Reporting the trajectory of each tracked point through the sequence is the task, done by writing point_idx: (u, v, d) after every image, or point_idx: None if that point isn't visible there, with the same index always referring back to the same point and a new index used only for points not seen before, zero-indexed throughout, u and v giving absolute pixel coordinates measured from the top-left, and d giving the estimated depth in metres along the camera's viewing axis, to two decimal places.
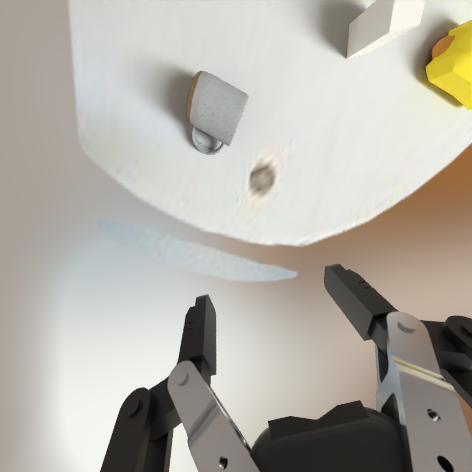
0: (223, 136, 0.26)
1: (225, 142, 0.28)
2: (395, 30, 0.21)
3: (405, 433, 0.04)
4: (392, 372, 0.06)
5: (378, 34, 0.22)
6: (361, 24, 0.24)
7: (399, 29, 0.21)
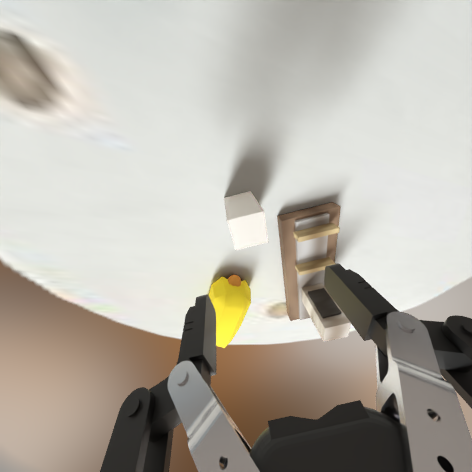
0: None
1: None
2: (229, 227, 0.18)
3: (405, 433, 0.04)
4: (392, 372, 0.06)
5: (230, 212, 0.19)
6: (245, 198, 0.22)
7: (230, 231, 0.18)
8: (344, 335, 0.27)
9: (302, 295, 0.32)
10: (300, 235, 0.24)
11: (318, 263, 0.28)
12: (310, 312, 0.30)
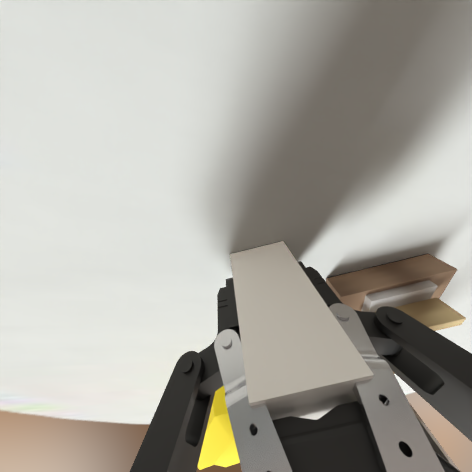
0: None
1: None
2: None
3: (405, 433, 0.04)
4: None
5: (252, 340, 0.07)
6: (280, 270, 0.10)
7: None
8: None
9: None
10: None
11: None
12: None
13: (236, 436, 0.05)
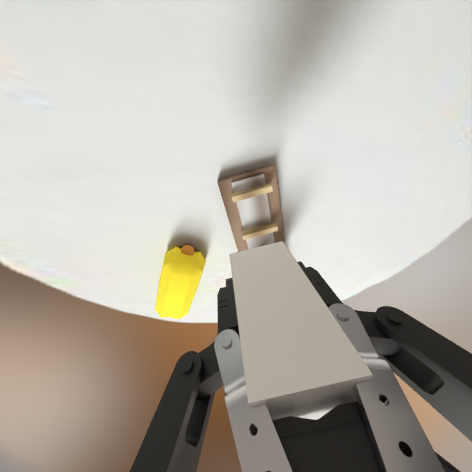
0: None
1: None
2: None
3: (405, 433, 0.04)
4: None
5: (251, 341, 0.07)
6: (280, 270, 0.10)
7: None
8: None
9: None
10: (235, 195, 0.24)
11: (262, 227, 0.28)
12: None
13: (236, 436, 0.05)
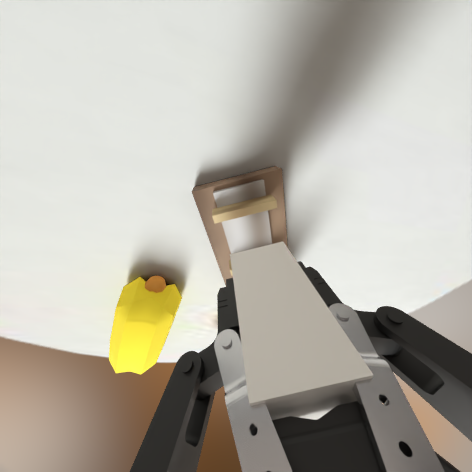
0: None
1: None
2: None
3: (405, 433, 0.04)
4: None
5: (252, 341, 0.07)
6: (280, 271, 0.10)
7: None
8: None
9: None
10: (217, 212, 0.15)
11: None
12: None
13: (236, 436, 0.05)
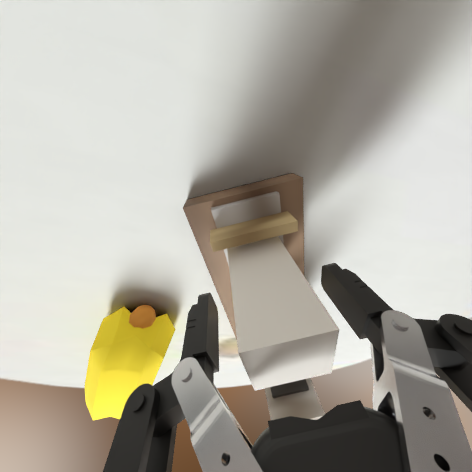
0: None
1: None
2: (242, 360, 0.07)
3: (405, 433, 0.04)
4: (388, 371, 0.06)
5: (243, 309, 0.08)
6: (270, 255, 0.11)
7: None
8: None
9: None
10: (217, 237, 0.11)
11: None
12: None
13: None
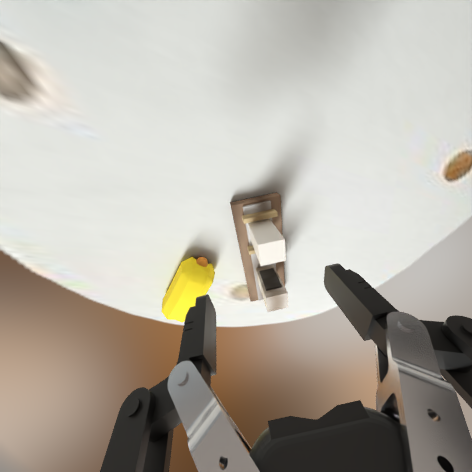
0: None
1: None
2: (258, 249, 0.24)
3: (405, 433, 0.04)
4: (392, 372, 0.06)
5: (258, 238, 0.25)
6: (266, 225, 0.28)
7: (258, 252, 0.25)
8: (285, 306, 0.31)
9: (257, 275, 0.37)
10: (245, 218, 0.29)
11: None
12: (261, 289, 0.35)
13: None
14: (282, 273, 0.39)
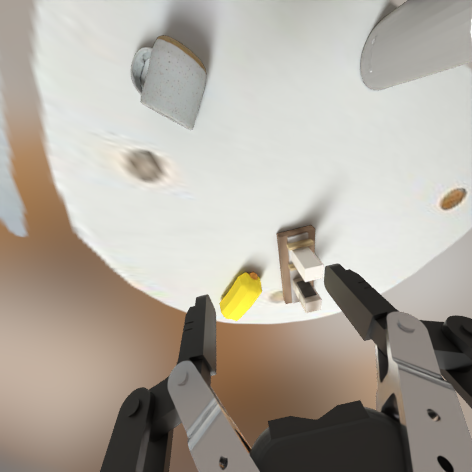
0: (144, 89, 0.22)
1: (141, 95, 0.23)
2: (304, 271, 0.36)
3: (405, 433, 0.04)
4: (392, 372, 0.06)
5: (303, 263, 0.37)
6: (306, 251, 0.39)
7: (304, 273, 0.36)
8: (318, 308, 0.42)
9: (293, 285, 0.48)
10: (290, 246, 0.40)
11: None
12: (298, 295, 0.46)
13: None
14: (312, 282, 0.50)
